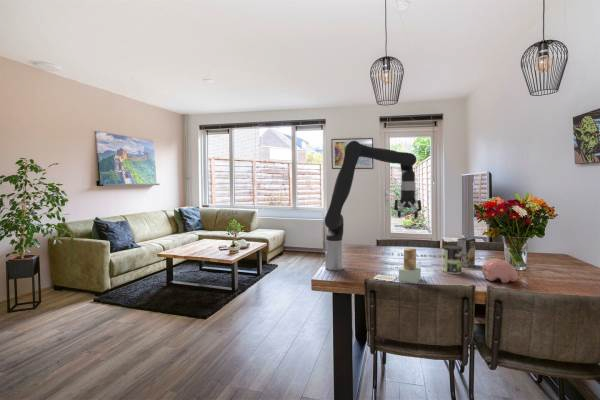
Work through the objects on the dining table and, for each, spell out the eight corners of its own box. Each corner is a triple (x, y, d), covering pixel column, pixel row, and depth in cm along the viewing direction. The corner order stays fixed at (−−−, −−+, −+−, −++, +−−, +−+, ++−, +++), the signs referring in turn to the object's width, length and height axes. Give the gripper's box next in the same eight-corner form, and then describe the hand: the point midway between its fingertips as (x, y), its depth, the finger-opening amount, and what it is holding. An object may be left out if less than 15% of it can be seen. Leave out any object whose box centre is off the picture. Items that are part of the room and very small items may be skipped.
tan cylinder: (403, 268, 167) (403, 249, 166) (406, 266, 171) (406, 247, 170) (413, 270, 164) (414, 250, 163) (415, 267, 168) (416, 248, 168)
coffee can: (465, 271, 180) (465, 247, 179) (455, 275, 174) (456, 249, 173) (447, 267, 188) (448, 244, 187) (437, 271, 182) (438, 246, 181)
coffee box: (467, 267, 188) (467, 240, 187) (456, 265, 194) (457, 238, 192) (475, 265, 194) (475, 238, 192) (464, 262, 199) (465, 237, 198)
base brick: (398, 280, 166) (398, 269, 166) (403, 276, 174) (403, 265, 174) (417, 283, 162) (417, 271, 161) (420, 278, 169) (420, 267, 169)
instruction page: (373, 278, 170) (373, 278, 170) (377, 274, 177) (377, 274, 177) (392, 281, 165) (392, 281, 165) (396, 277, 171) (396, 276, 171)
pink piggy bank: (504, 285, 170) (515, 264, 168) (515, 293, 157) (527, 271, 156) (474, 272, 172) (485, 251, 171) (483, 279, 160) (494, 257, 158)
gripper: (393, 189, 181) (393, 218, 182) (419, 189, 174) (419, 219, 175) (396, 189, 188) (396, 216, 189) (422, 189, 180) (422, 218, 181)
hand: (407, 218), depth 182 cm, fingers open, 8 cm apart
